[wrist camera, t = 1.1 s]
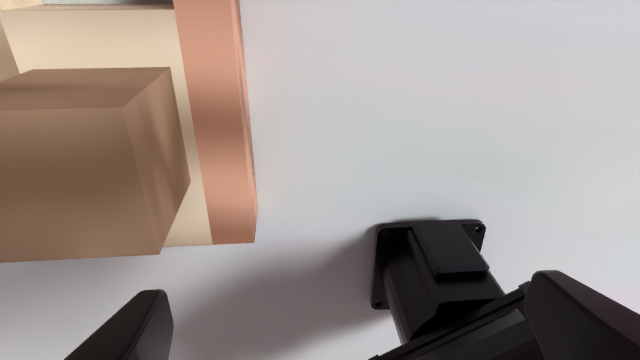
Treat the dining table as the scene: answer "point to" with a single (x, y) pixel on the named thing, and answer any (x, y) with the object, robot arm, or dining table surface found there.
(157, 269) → the dining table surface
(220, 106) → the board
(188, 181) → the walnut cube
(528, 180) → the dining table surface
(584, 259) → the dining table surface
